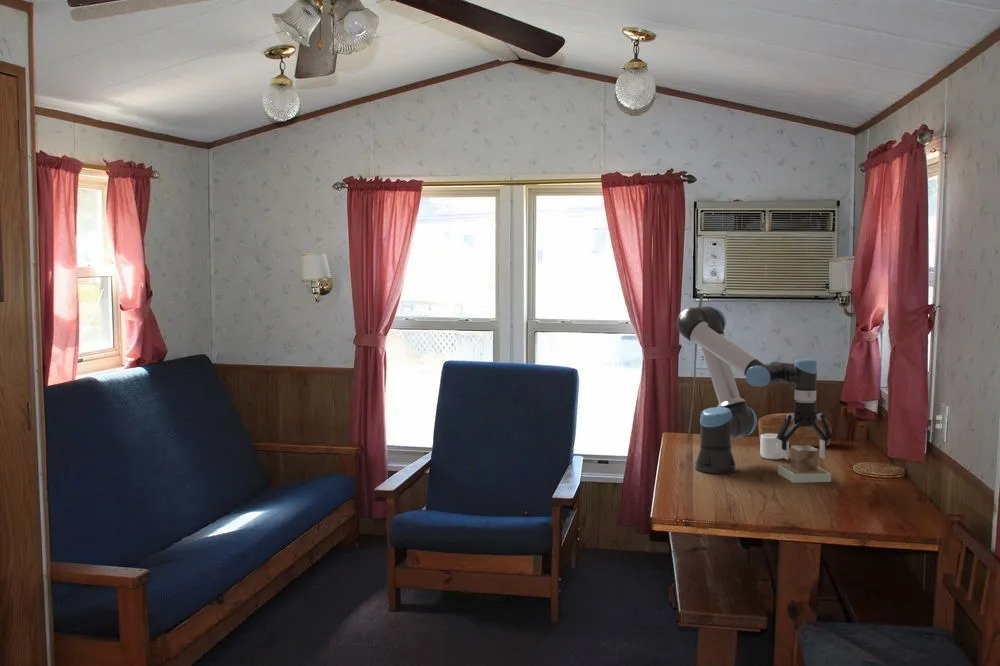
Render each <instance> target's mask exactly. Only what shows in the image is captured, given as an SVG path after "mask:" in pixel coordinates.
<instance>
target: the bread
mask: <svg viewBox="0 0 1000 666" xmlns="http://www.w3.org/2000/svg"><path fill="white" fill-rule="evenodd" d="M794 413H795V412H788V413H787V412H786V413H785V412H784V413H770V414H767V415H763V416H762V417H760V418H759V419H757V426H758V439H759V441H760V439H761V435H762V434H778V433H779V431H780V429H781V427H782V425H783V423H784V421H785V417H786V414H789V415H794ZM794 421H795V420H794V418H793V420H792V421H791V423H790V425H789V427H788V429H787V431H788V430H789V428H790V427H791V426H792V424H793V423H794ZM814 422H815V423H816V424H817V426H818V427H819V428H820V430H821V431H822V432H823V433H824V434H825V432H824V430H823V428H822V426H821V424H820V422H819V420H818V419H817V418H816V420H815V421H814ZM825 422H826V424H827V426H828V428H829V430H830V432H831V433H833V432H832V431H833V425H832V424H831V422H830V420H829V419H828V418H825ZM787 431H786V432H787ZM825 436H826V434H825ZM820 440H822V438H821V437H820V436H819V435H818V433H817V432H816V431H815V430H814V428H813V427H812V426H810V427H808V426H805V427H801V426H800V427H799V428H797V429H796V431H795V432H794V433H793V434H792V435H791V437H790V438H789V439H788V440H787V441H788V442H789V446H797V445H810V446H812V447H818V448H819V447H820ZM830 444H831V439H829V440H828V441H827V447H828V446H830Z"/></svg>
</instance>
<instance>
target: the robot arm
mask: <svg viewBox="0 0 1000 666" xmlns="http://www.w3.org/2000/svg"><path fill="white" fill-rule="evenodd" d="M726 324H727V321H726V316H725V315H724V313H723V312H722V310H720V309H718V308H717V307H714V306H709V305H706V306H698V307H696V306H695V307H688V308H685V309H683V310H682V311H680V313H679V314H678V316H677V318H676V328H677V330H678V332H679V334H680V335H682V336H683V337H684V338H685V339H686V340H687V341H689V342H690V343H692V344H696V345H698V346H700V347H701V350H702V353H703V356H704V360H705V363H706V366H707V369H708V372H709V376H710V379H711V381H712V385H713V388H714V389H713V390H714V392H715V395H716V398H717V400H718V401H717V402H718V405H717V406H716V407H709V408H705V409H704V410H702V411H701V412H700V419H699V425H700V426H699V427H700V428H699V430H700V432H699V433H700V434H699V436H700V437H699V439H700V441H699V442H700V443H699V446H700V447H699V451H698V454H697V456H696V460H695V466H694V468H696V469H697V470H696V469H695V470H696V471H698V470H699V472H701V471H702V473H705V472H707V474H714V473H716V474H719V475H720V474H724V475H725V474H733V473H734V472H736V471H737V468H736V467H737V466H736V465H737V464H736V460H735V459H734V458H735V457H734V455H733V451H732V441H733V440H736V439H740V438H746V437H747V436H750V435H751V434H752V433H754V432H755V429H756V428H757V426H758V418H757V414H756V413H755V410H753V409H752V408H751V407H749V406H748V404H747V400H745V399H744V398H742V397H741V396H740V392H739V388H738V386H737V383H736V379H735V377H734V373H733V371H732V370H733V369H734V370H736V371H738V372H739V373H741V374H742V375H743V376H745V379H746V381H747V384H748V385H750V386H752V387H760V388H761V387H764V386H771V385H776V384H792V385H794V400H795V401H794V404H793V405H794V406H793V407H794V409H793V411H794V412H793V413H794V415H789V414H786V417H785V421H784V423H783V425H782V427H781V429H780V431H779V433H778V435H777V439H779V440H781V441H782V449H783V450H784V458H783V459H785V460H790V458H789V457H790V445H789V442H788V441H787V440H788V439H789V438H790V437H791V435H792V434H793V433H794V432H795V431H796V429H797V428H799V427H800V426H801V427H805V426H808V427H810V426H812V427H813V428H814V430H815V431H816V432H817V433H818V435H819V436H820V437H821V438H822V440H820V447H818V453H819V455H818V457H819V458H821V459H823V460H824V459H825V458H826V457H825V454H826V450H827V448H828V446H827V441H828V440H829V439H830V440H832V439H833V434H832V432H830V430H829V428H828V426H827V424H826V422H825V414H823V413H821V412H820V413H817V414H816V412H817V402H816V401H817V379H818V378H817V377H818V375H817V374H818V367H817V366H818V364H817V361H816V360H815V359H811V358H797V359H796V360H795V361H794V363H789V362H781V361H780V362H779V361H768V362H767V363H766V364H764V363H763V362H761V361H760V360H758V359H757V358H756V357H754V356H753V355H751V354H749V352H747V351H745V350H744V349H742V348H741V347H739V346H738V345H736V343H733V342H731V341H730V340H729V339H727V338H726V337H725V328H726V327H725V326H726ZM732 368H733V369H732ZM793 418H794V420H795V421H794V423H793V424H792V426H791V427H790V428H789V430H788V431H787V429H788V427H789V425H790V423H791V421H792V420H793ZM816 418H817V419H818V420H819V422H820V424H821V426H822V428H823V430H824V432H825V434H826V436H825V434H824V433H823V432H822V431H821V430H820V428H819V427H818V426H817V424H816V423H815V422H814V421H815V420H816ZM786 431H787V432H786Z"/></svg>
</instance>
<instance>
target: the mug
mask: <svg viewBox="0 0 1000 666" xmlns="http://www.w3.org/2000/svg"><path fill="white" fill-rule="evenodd" d="M777 435H778V434H762V435H761V439H760V440H759V441H760V444H759V445H760V451H759V453H760V457H762V458H763V459H765V460H766V459H767V460H772V461H773V460H783V459H785V458H784V450H783V449H782V441H781V440H779V439H777Z"/></svg>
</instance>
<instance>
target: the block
mask: <svg viewBox="0 0 1000 666" xmlns="http://www.w3.org/2000/svg"><path fill="white" fill-rule="evenodd" d="M818 453H819V448H816V447H815V446H810V445H790V465H791V467H792V468H794V469H796V470H797V471H817V467H818V459H819V458H818V457H819V455H818Z"/></svg>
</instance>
